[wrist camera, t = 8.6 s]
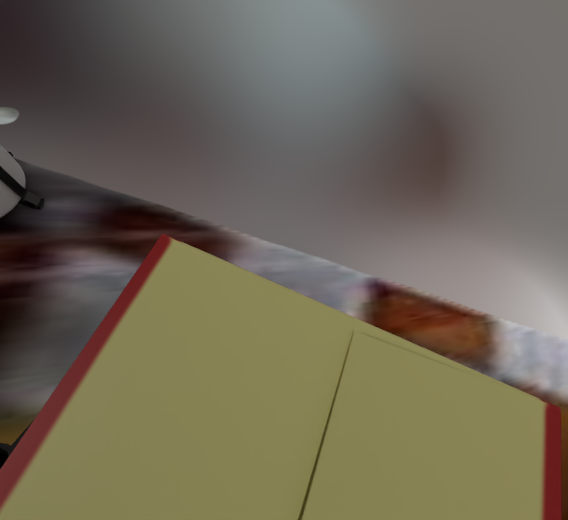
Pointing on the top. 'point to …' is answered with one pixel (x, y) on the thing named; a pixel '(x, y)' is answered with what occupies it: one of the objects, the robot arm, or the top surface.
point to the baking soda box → (273, 416)
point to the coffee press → (14, 185)
